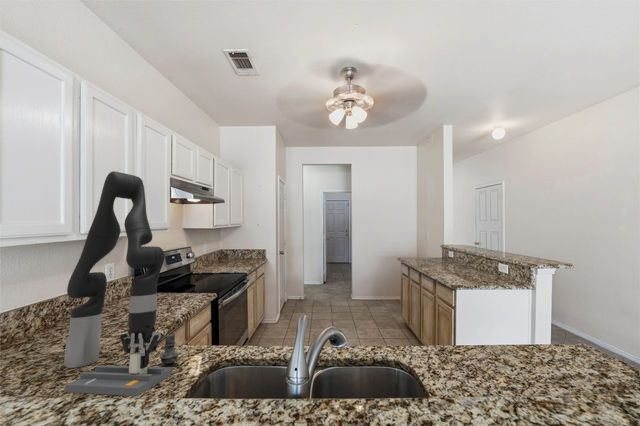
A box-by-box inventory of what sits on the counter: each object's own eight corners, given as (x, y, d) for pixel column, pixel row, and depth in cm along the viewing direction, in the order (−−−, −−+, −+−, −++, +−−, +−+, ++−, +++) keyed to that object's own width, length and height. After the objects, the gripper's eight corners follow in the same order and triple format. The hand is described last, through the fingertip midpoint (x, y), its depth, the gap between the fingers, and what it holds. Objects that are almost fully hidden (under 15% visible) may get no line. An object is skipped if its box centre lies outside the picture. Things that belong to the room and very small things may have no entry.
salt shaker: (170, 369, 92) (171, 332, 94) (155, 369, 93) (157, 332, 95) (182, 363, 98) (183, 328, 100) (167, 362, 99) (169, 328, 101)
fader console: (65, 392, 79) (66, 379, 79) (109, 371, 93) (110, 360, 93) (137, 396, 75) (138, 382, 76) (172, 373, 89) (172, 362, 89)
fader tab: (127, 379, 81) (129, 355, 82) (141, 372, 86) (142, 349, 87) (136, 379, 81) (138, 355, 82) (149, 372, 85) (150, 349, 86)
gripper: (113, 311, 84) (108, 372, 81) (153, 311, 81) (150, 373, 79) (133, 307, 91) (130, 362, 88) (170, 306, 89) (168, 363, 86)
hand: (139, 367), depth 84 cm, fingers closed on fader tab, 2 cm apart
